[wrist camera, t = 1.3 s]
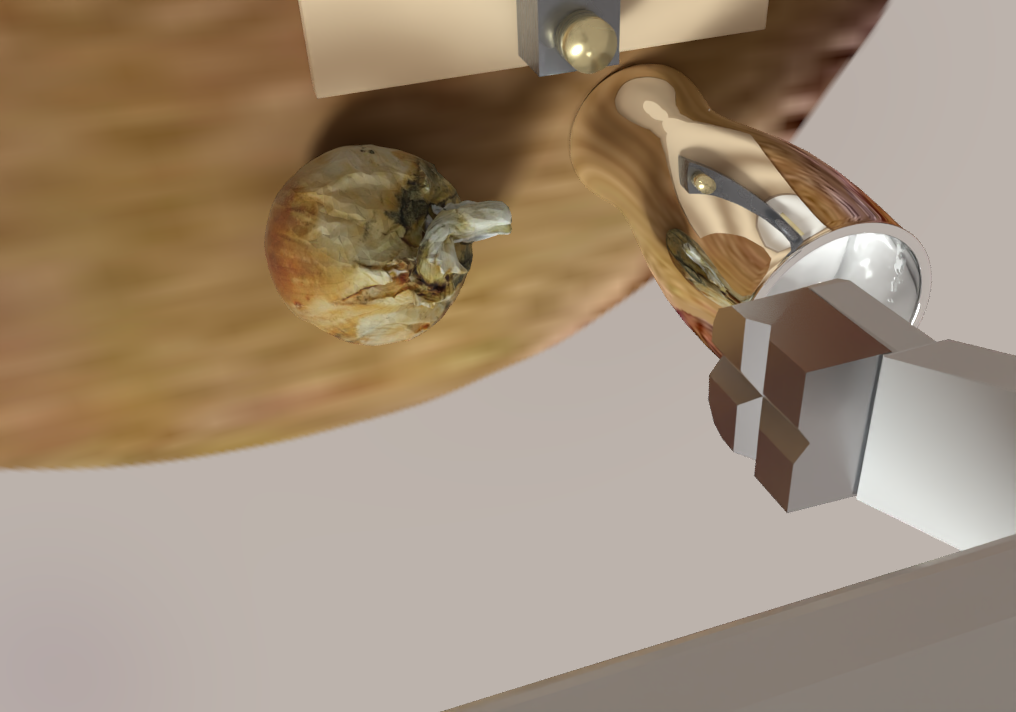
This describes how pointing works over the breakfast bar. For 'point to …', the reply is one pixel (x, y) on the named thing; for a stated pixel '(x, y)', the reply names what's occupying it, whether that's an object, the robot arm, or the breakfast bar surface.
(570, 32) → the bar
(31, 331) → the breakfast bar surface
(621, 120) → the beer glass
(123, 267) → the breakfast bar surface
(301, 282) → the onion
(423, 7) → the door board
